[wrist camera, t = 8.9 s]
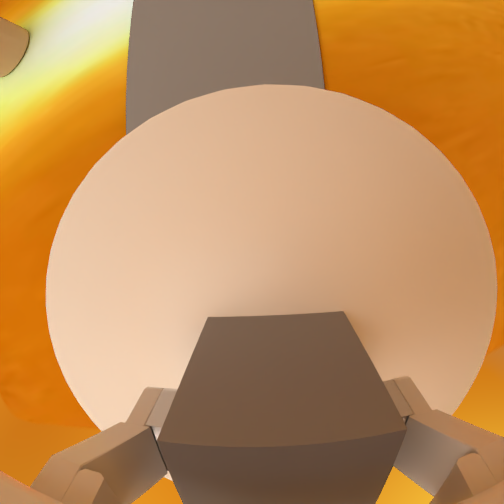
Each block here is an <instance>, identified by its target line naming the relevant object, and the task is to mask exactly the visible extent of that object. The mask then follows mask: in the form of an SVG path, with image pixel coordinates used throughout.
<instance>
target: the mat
mask: <svg viewBox="0 0 504 504" xmlns="http://www.w3.org/2000/svg"><path fill="white" fill-rule="evenodd" d="M263 84H275V85H299V86H309V87H314V88H319V89H324V90H325V88H324V78H323V69H322V61H321V53H320V46H319V38H318V32H317V25H316V19H315V12H314V6H313V1H312V0H134V2H133V10H132V18H131V27H130V38H129V50H128V66H127V90H126V135H127V134H129V133H130V132H131V131H133V130H134V129H136V128H137V127H138V126H140V125H141V124H143V123H144V122H146V121H147V120H148V119H150V118H152V117H154V116H156V115H158V114H160V113H162V112H164V111H166V110H168V109H170V108H172V107H174V106H176V105H178V104H180V103H182V102H184V101H187V100H190V99H193V98H197V97H200V96H203V95H207V94H210V93H213V92H217V91H220V90H224V89H231V88H238V87H246V86H254V85H263Z"/></svg>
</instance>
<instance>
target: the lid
mask: <svg viewBox="0 0 504 504" xmlns="http://www.w3.org/2000/svg"><path fill="white" fill-rule="evenodd" d="M496 302H497V275H496V263H495V256H494V252H493V247H492V243H491V239H490V235H489V231H488V228H487V225H486V223H485V220H484V218H483V215H482V213H481V210H480V208H479V205H478V203H477V201H476V200H475V198H474V196H473V194H472V193H471V191H470V189H469V188H468V186H467V184H466V183H465V181H464V179H463V178H462V176H461V175H460V174H459V172H458V171H457V170H456V169H455V168H454V166H453V165H452V164H451V163H450V162H449V160H448V159H447V158H446V157H445V156H444V154H443V153H442V152H441V151H440V150H439V149H438V148H437V147H436V146H434V145H433V144H432V143H431V142H430V141H429V140H428V139H426V138H425V137H424V136H423V135H422V134H420V133H419V132H418V131H417V130H416V129H414V128H413V127H412V126H410V125H408V124H407V123H405V122H404V121H402V120H400V119H399V118H397V117H395V116H394V115H392V114H390V113H389V112H387V111H385V110H383V109H382V108H379V107H377V106H374V105H372V104H370V103H367V102H365V101H362V100H359V99H357V98H354V97H352V96H349V95H346V94H342V93H338V92H334V91H329V90H324V89H319V88H314V87H309V86H299V85H275V84H263V85H254V86H246V87H238V88H231V89H224V90H220V91H217V92H213V93H210V94H207V95H203V96H200V97H197V98H193V99H190V100H187V101H184V102H182V103H180V104H178V105H176V106H174V107H172V108H170V109H168V110H166V111H164V112H162V113H160V114H158V115H156V116H154V117H152V118H150V119H148V120H147V121H146V122H144V123H143V124H141V125H140V126H138V127H137V128H136V129H134V130H133V131H131V132H130V133H129V134H127V135H126V136H125V137H123V138H122V139H121V140H119V141H118V142H117V143H116V144H115V145H114V146H113V147H112V148H111V149H110V150H109V151H108V152H107V153H106V154H105V155H104V156H103V157H102V158H101V159H100V160H99V161H98V162H97V163H96V164H95V165H94V166H93V168H92V169H91V170H90V172H89V173H88V174H87V176H86V177H85V178H84V180H83V181H82V183H81V184H80V185H79V187H78V188H77V190H76V191H75V193H74V194H73V196H72V198H71V200H70V202H69V204H68V206H67V208H66V210H65V212H64V214H63V216H62V218H61V220H60V223H59V226H58V229H57V232H56V235H55V238H54V241H53V244H52V248H51V252H50V257H49V264H48V270H47V277H46V311H47V319H48V326H49V333H50V337H51V341H52V344H53V348H54V351H55V355H56V358H57V361H58V363H59V365H60V368H61V370H62V373H63V375H64V377H65V380H66V382H67V383H68V385H69V387H70V389H71V390H72V392H73V394H74V396H75V397H76V399H77V401H78V402H79V404H80V405H81V406H82V408H83V409H84V411H85V412H86V413H87V415H88V416H89V417H90V419H91V420H92V421H93V422H94V423H95V424H96V426H97V427H98V428H99V429H100V430H101V431H104V430H106V429H108V428H110V427H112V426H113V425H115V424H117V423H119V422H124V423H125V422H126V420H127V419H128V417H129V415H130V413H131V411H132V410H133V408H134V406H135V404H136V403H137V401H138V399H139V397H140V396H141V394H142V392H143V390H144V389H145V388H146V387H148V386H150V387H159V388H171V389H177V392H176V394H175V397H174V399H173V402H172V404H171V407H170V409H169V411H168V414H167V416H166V419H165V421H164V424H163V426H162V429H161V431H160V434H159V436H158V439H157V443H158V446H159V448H160V451H161V453H162V456H163V458H164V461H165V463H166V466H167V468H168V471H169V472H168V471H167V472H168V473H167V474H166V475H165V476H164V477H166V478H167V479H170V480H172V481H173V482H174V484H175V487H176V489H177V491H178V493H179V495H180V498H181V500H182V502H183V504H375V503H376V501H377V499H378V497H379V495H380V493H381V491H382V489H383V487H384V485H385V482H386V480H387V478H388V476H389V474H390V472H391V469H392V467H393V465H394V462H395V460H396V457H397V455H398V452H399V450H400V447H401V445H402V442H403V440H404V437H405V434H406V431H407V427H406V425H405V423H404V421H403V419H402V417H401V415H400V413H399V411H398V409H397V408H396V406H395V404H394V402H393V400H392V398H391V396H390V394H389V392H388V390H387V388H386V387H385V385H384V383H383V381H386V380H391V379H394V378H399V377H404V376H408V377H410V378H411V379H412V381H413V382H414V384H415V385H416V387H417V388H418V390H419V391H420V393H421V394H422V396H423V397H424V399H425V400H426V402H427V403H428V405H429V406H430V408H431V409H432V410H435V409H438V410H440V411H442V412H444V413H447V414H449V415H452V414H453V413H454V411H455V410H456V409H457V408H458V406H459V405H460V403H461V402H462V400H463V399H464V397H465V396H466V394H467V393H468V391H469V389H470V388H471V386H472V384H473V382H474V380H475V378H476V376H477V374H478V372H479V370H480V368H481V365H482V363H483V360H484V357H485V355H486V352H487V349H488V346H489V343H490V339H491V335H492V330H493V325H494V320H495V315H496Z"/></svg>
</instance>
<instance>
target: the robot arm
mask: <svg viewBox="0 0 504 504" xmlns="http://www.w3.org/2000/svg"><path fill="white" fill-rule="evenodd" d="M383 383H384V385H385V387H386V388H387V390H388V392H389V394H390V396H391V398H392V400H393V402H394V404H395V406H396V408H397V409H398V411H399V413H400V415H401V417H402V419H403V421H404V423H405V425H406V427H407V431H406V434H405V437H404V440H403V442H402V445H401V447H400V450H399V452H398V455H397V457H396V460H395V462H394V465H393V466H394V467H396V468H397V469H398V470H399V471H401V472H402V473H403V474H405V475H406V476H407V477H408V478H410V479H411V480H413V481H414V482H415V483H416V484H418V485H419V486H420V487H422V488H423V489H424V490H426V491H427V492H428V493H430V494H431V495H432V496H434V498H433V499H432V501H431V502H430V504H504V437H501V436H499V435H496V434H494V433H491V432H489V431H486V430H484V429H482V428H479V427H476V426H474V425H472V424H470V423H467V422H465V421H463V420H460V419H458V418H456V417H453V416H451V415H449V414H447V413H444V412H442V411H440V410H438V409H435V410H432V409H431V408H430V406H429V405H428V403H427V402H426V400H425V399H424V397H423V396H422V394H421V393H420V391H419V390H418V388H417V387H416V385H415V384H414V382H413V381H412V379H411V378H410V377H408V376H404V377H399V378H394V379H391V380H386V381H383ZM176 392H177V389H171V388H159V387H150V386H148V387H146V388H145V389H144V390H143V392H142V394H141V396H140V397H139V399H138V401H137V403H136V404H135V406H134V408H133V410H132V411H131V413H130V415H129V417H128V419H127V420H126V422H125V423H124V422H119V423H117V424H115V425H113V426H112V427H110V428H108V429H106V430H104V431H102V432H100V433H98V434H96V435H94V436H92V437H90V438H88V439H86V440H84V441H82V442H80V443H78V444H75V445H73V446H71V447H69V448H67V449H65V450H63V451H61V452H58V453H56V454H54V455H52V456H51V457H50V459H49V460H48V462H47V463H46V465H45V466H44V467H43V469H42V470H41V472H40V473H39V475H38V476H37V478H36V479H35V480H34V482H33V483H32V485H31V486H30V487H28V486H26V485H25V484H23V483H21V482H19V481H17V480H15V479H14V478H12V477H10V476H8V475H7V474H5V473H3V472H2V471H0V504H131V503H132V502H134V501H135V500H136V499H137V498H139V497H140V496H141V495H142V494H144V493H145V492H146V491H147V490H148V489H150V488H151V487H152V486H153V485H154V484H156V483H157V482H158V481H159V480H160V479H161V478H163V477H164V476H165V475H166V474H167V473H168V472H169V471H168V468H167V466H166V463H165V461H164V458H163V456H162V453H161V451H160V448H159V446H158V443H157V439H158V436H159V434H160V431H161V429H162V426H163V424H164V421H165V419H166V416H167V414H168V411H169V409H170V407H171V404H172V402H173V399H174V397H175V394H176ZM167 471H168V472H167Z"/></svg>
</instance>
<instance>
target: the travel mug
mask: <svg viewBox="0 0 504 504" xmlns="http://www.w3.org/2000/svg"><path fill="white" fill-rule="evenodd" d="M28 41H29V34H28V31H27V30H26V29H24V28H22V27H20V26H18V25H16V24H14V23H12V22H10V21H8V20H6V19H4V18H2V17H0V77H4V76H6V75H7V74H9V73H10V72H11V71H12V70H13V69H14V68H15V67H16V66H17V64H18V63H19V62H20V60H21V58H22V57H23V55H24V53H25V50H26V48H27V45H28Z"/></svg>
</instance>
